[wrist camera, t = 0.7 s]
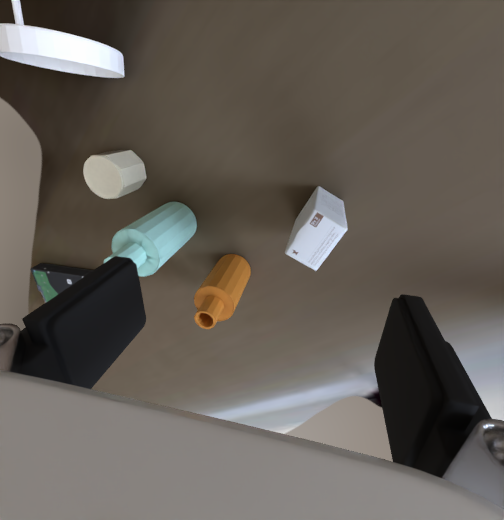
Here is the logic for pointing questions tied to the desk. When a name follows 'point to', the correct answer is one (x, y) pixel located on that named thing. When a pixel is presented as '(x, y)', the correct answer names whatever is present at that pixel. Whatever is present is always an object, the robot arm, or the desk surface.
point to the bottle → (155, 237)
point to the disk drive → (56, 278)
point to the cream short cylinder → (114, 173)
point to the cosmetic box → (317, 229)
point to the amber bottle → (221, 290)
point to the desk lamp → (57, 49)
